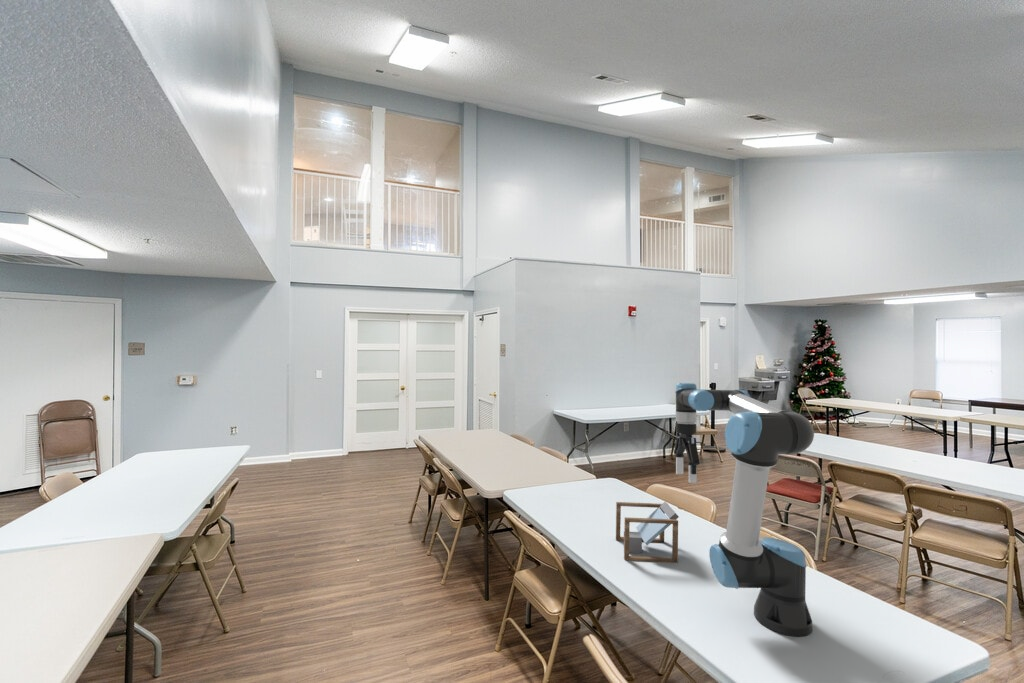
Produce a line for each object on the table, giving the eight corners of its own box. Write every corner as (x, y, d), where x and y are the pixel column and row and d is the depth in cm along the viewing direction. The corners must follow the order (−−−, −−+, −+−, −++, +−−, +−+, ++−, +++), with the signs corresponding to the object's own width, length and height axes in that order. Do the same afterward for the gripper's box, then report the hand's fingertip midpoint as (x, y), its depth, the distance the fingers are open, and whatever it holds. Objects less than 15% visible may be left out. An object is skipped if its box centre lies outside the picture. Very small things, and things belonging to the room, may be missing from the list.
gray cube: (641, 537, 182) (626, 537, 182) (641, 553, 181) (626, 552, 182) (638, 531, 188) (623, 531, 188) (638, 546, 187) (623, 546, 188)
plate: (679, 517, 176) (676, 513, 176) (647, 546, 177) (644, 542, 177) (667, 504, 192) (664, 500, 192) (638, 530, 193) (635, 526, 193)
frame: (677, 562, 174) (678, 521, 174) (624, 560, 175) (625, 518, 175) (663, 540, 194) (663, 503, 194) (615, 538, 195) (616, 501, 195)
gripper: (709, 427, 164) (709, 486, 163) (684, 419, 189) (684, 470, 188) (688, 426, 164) (688, 486, 163) (665, 418, 189) (665, 470, 188)
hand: (685, 478), depth 176 cm, fingers open, 13 cm apart
